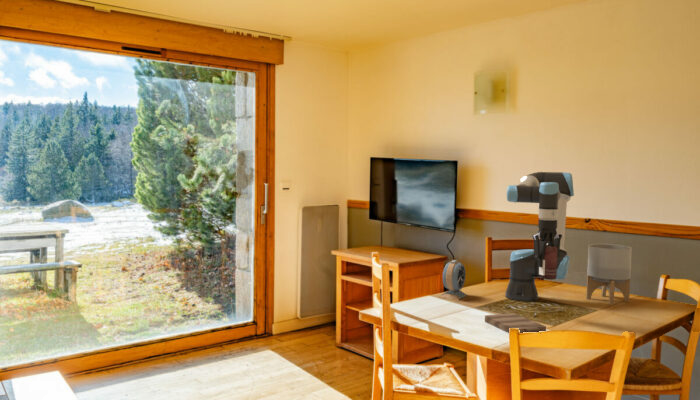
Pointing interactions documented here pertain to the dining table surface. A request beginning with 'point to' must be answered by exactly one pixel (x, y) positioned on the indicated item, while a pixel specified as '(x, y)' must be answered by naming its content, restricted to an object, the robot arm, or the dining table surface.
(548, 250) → the can
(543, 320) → the dining table surface
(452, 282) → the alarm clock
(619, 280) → the planter
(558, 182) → the robot arm
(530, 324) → the board
